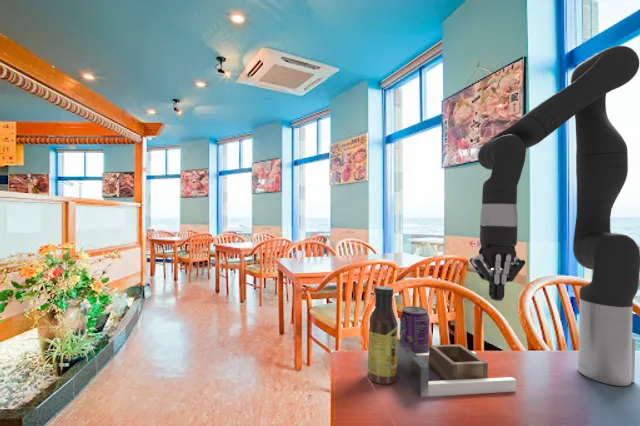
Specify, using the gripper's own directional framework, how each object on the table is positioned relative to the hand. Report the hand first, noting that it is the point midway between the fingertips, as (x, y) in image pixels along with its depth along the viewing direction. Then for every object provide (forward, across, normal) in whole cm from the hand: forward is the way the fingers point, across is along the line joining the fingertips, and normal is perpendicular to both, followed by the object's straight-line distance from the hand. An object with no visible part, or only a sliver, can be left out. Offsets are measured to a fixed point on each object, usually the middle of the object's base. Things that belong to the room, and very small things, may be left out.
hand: (496, 299), depth 74 cm
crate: (+17, +9, 0) cm, 19 cm away
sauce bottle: (+18, +26, -1) cm, 32 cm away
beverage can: (+18, +14, -11) cm, 25 cm away
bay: (+17, +11, 0) cm, 20 cm away
